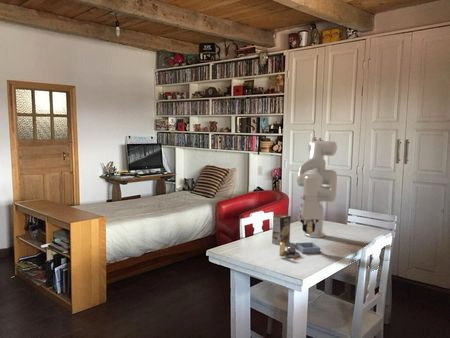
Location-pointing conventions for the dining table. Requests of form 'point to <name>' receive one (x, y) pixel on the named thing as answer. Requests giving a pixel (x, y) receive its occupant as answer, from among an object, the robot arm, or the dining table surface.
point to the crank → (289, 249)
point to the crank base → (293, 255)
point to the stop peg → (309, 226)
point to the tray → (307, 248)
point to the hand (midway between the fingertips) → (308, 230)
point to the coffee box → (281, 229)
